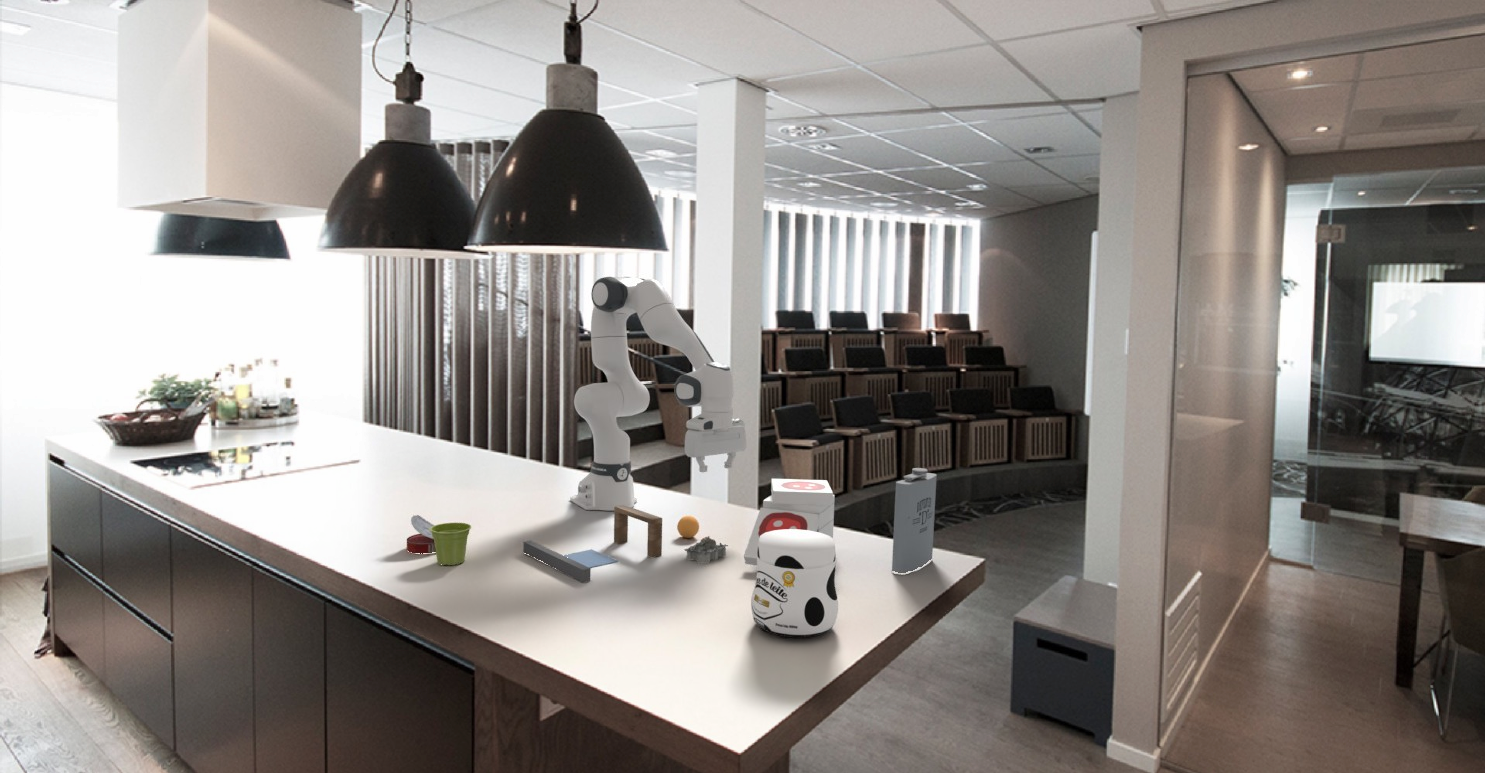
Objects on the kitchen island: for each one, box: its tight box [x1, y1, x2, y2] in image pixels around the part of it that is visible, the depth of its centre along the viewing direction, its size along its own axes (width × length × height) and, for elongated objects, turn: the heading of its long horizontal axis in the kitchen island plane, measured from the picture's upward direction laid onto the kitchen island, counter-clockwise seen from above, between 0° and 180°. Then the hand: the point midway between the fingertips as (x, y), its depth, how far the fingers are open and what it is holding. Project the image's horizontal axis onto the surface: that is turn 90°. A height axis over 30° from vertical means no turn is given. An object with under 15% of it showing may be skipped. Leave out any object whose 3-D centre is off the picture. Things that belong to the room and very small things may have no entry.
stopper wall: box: [522, 539, 592, 584], centre depth 196 cm, size 28×2×3 cm, turn 43°
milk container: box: [750, 529, 839, 638], centre depth 162 cm, size 17×17×18 cm
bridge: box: [613, 505, 663, 558], centre depth 212 cm, size 3×17×10 cm, turn 43°
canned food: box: [406, 514, 436, 554], centre depth 207 cm, size 11×10×10 cm
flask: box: [891, 467, 938, 573], centre depth 203 cm, size 17×5×25 cm, turn 143°
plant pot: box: [430, 522, 472, 566], centre depth 196 cm, size 9×9×9 cm
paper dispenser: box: [743, 478, 836, 566], centre depth 206 cm, size 19×30×18 cm, turn 159°
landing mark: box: [563, 548, 619, 569], centre depth 201 cm, size 12×12×1 cm
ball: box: [676, 515, 700, 539], centre depth 223 cm, size 6×6×6 cm
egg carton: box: [683, 535, 729, 564], centre depth 207 cm, size 11×8×4 cm
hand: (715, 469), depth 228 cm, fingers open, 8 cm apart
